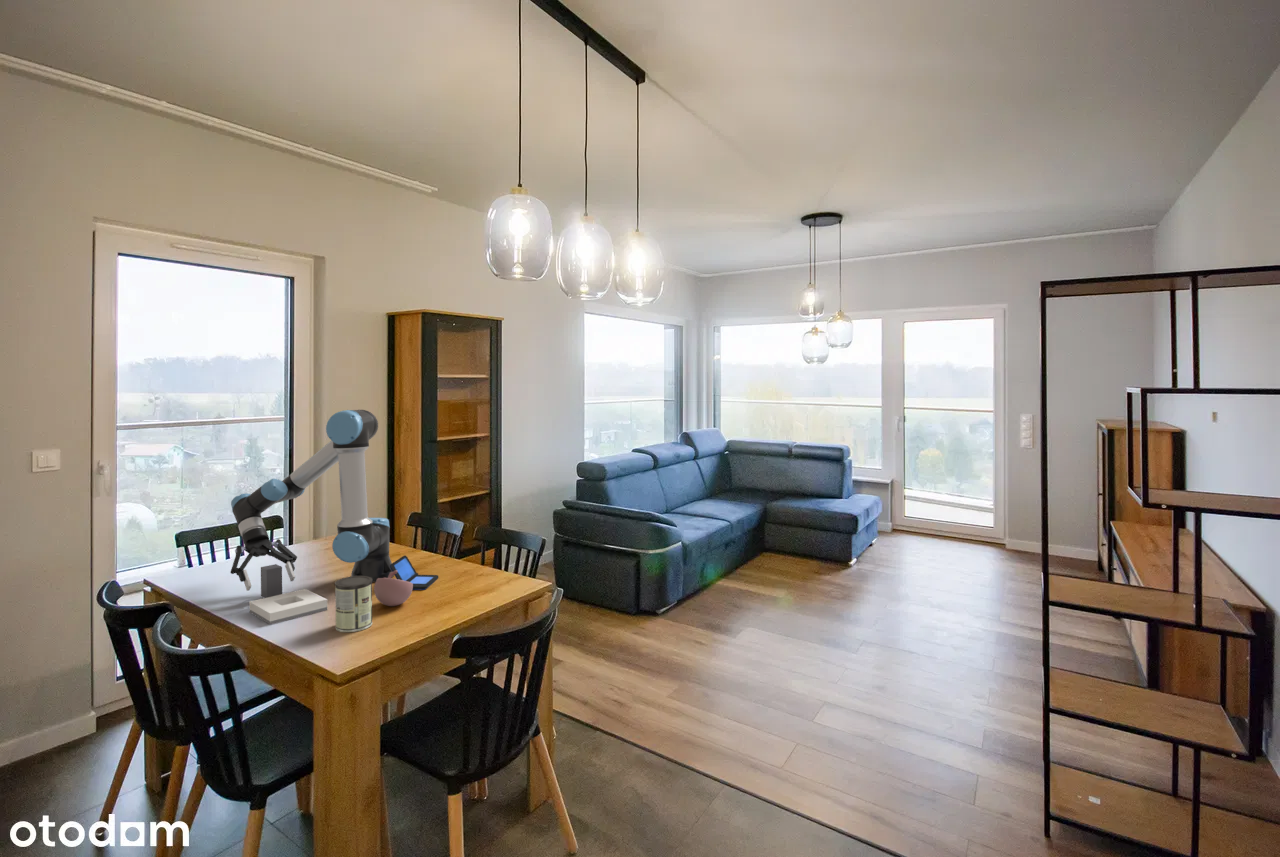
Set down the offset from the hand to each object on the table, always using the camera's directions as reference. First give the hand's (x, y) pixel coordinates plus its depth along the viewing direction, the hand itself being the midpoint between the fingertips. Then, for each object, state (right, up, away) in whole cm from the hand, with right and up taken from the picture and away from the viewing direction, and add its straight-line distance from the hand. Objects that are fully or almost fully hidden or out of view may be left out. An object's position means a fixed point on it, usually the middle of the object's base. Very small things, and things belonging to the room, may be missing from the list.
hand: (271, 583), depth 205 cm
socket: (+12, -6, -10) cm, 17 cm away
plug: (-1, -5, +1) cm, 6 cm away
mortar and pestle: (+43, -7, -2) cm, 43 cm away
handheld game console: (+41, -6, +21) cm, 46 cm away
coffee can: (+38, -8, -21) cm, 44 cm away
